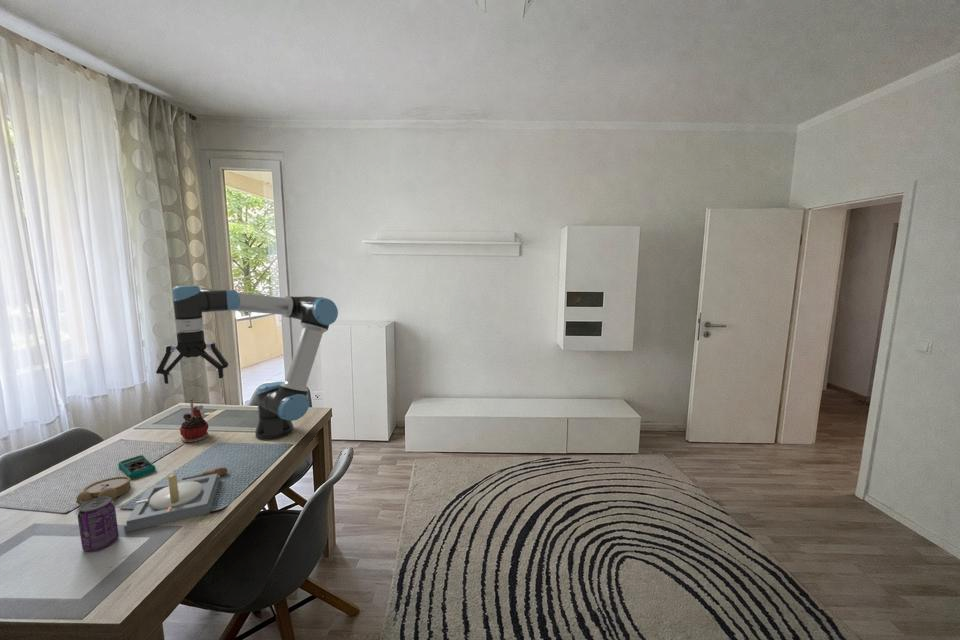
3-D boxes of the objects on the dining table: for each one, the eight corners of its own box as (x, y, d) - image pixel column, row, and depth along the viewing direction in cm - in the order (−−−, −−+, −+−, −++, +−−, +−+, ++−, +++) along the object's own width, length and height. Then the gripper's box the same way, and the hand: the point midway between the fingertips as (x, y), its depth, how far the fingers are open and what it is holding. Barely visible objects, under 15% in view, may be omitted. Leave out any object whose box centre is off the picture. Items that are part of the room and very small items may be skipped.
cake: (175, 441, 164) (171, 401, 162) (198, 432, 173) (194, 394, 170) (192, 445, 160) (187, 404, 158) (214, 436, 169) (210, 397, 166)
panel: (220, 480, 135) (219, 471, 135) (209, 513, 117) (208, 503, 117) (147, 494, 126) (146, 485, 126) (124, 532, 108) (123, 521, 108)
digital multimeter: (130, 481, 134) (129, 473, 134) (118, 468, 143) (117, 461, 142) (156, 472, 140) (156, 465, 140) (143, 460, 149) (142, 453, 148)
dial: (152, 493, 123) (149, 464, 122) (202, 481, 130) (199, 453, 129) (147, 515, 112) (143, 484, 111) (201, 500, 120) (198, 470, 118)
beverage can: (99, 535, 107) (93, 495, 106) (126, 534, 108) (120, 495, 106) (74, 554, 100) (68, 512, 99) (103, 552, 101) (97, 511, 99)
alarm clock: (138, 474, 133) (110, 490, 119) (138, 488, 133) (110, 506, 119) (98, 478, 130) (64, 496, 116) (98, 493, 130) (64, 513, 116)
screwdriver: (228, 472, 140) (227, 465, 140) (227, 475, 138) (226, 468, 138) (183, 480, 135) (182, 473, 134) (181, 484, 132) (180, 477, 132)
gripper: (140, 334, 123) (147, 397, 126) (231, 329, 134) (236, 388, 137) (147, 331, 130) (154, 391, 133) (234, 326, 141) (238, 382, 144)
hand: (196, 389), depth 135 cm, fingers open, 13 cm apart
